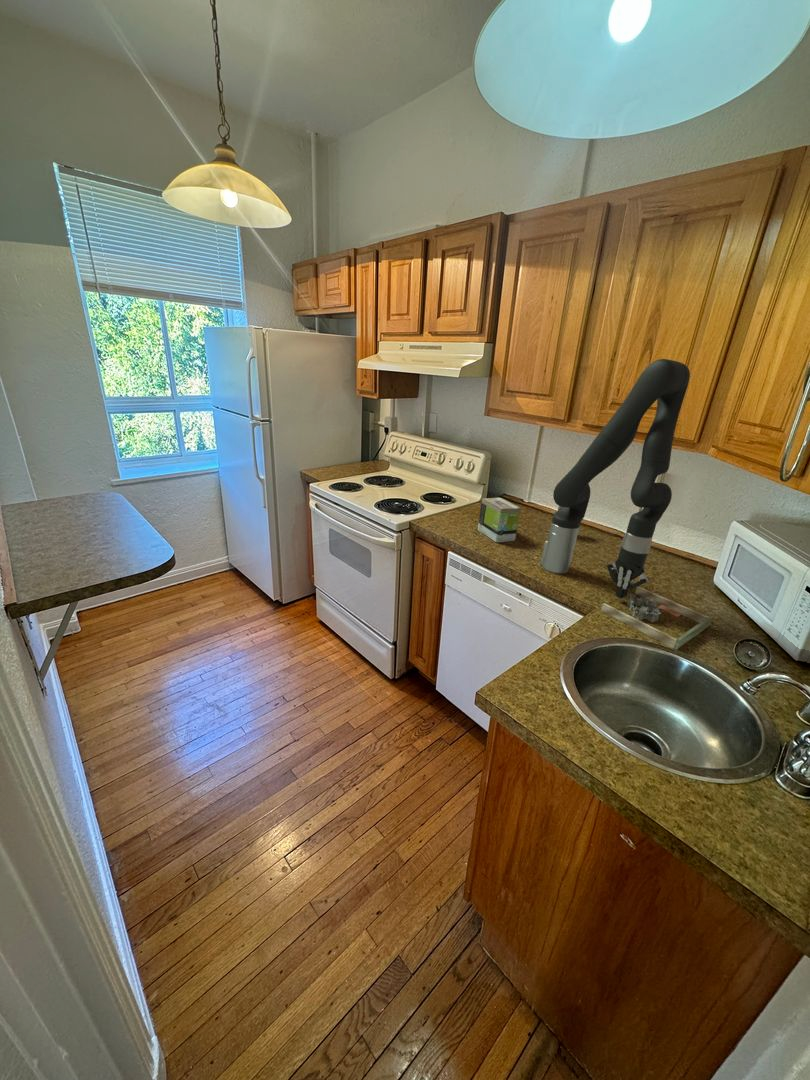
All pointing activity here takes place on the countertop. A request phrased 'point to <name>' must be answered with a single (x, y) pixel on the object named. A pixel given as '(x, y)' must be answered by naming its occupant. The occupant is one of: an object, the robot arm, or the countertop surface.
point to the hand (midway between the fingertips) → (620, 597)
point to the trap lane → (667, 607)
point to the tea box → (499, 519)
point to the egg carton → (643, 608)
